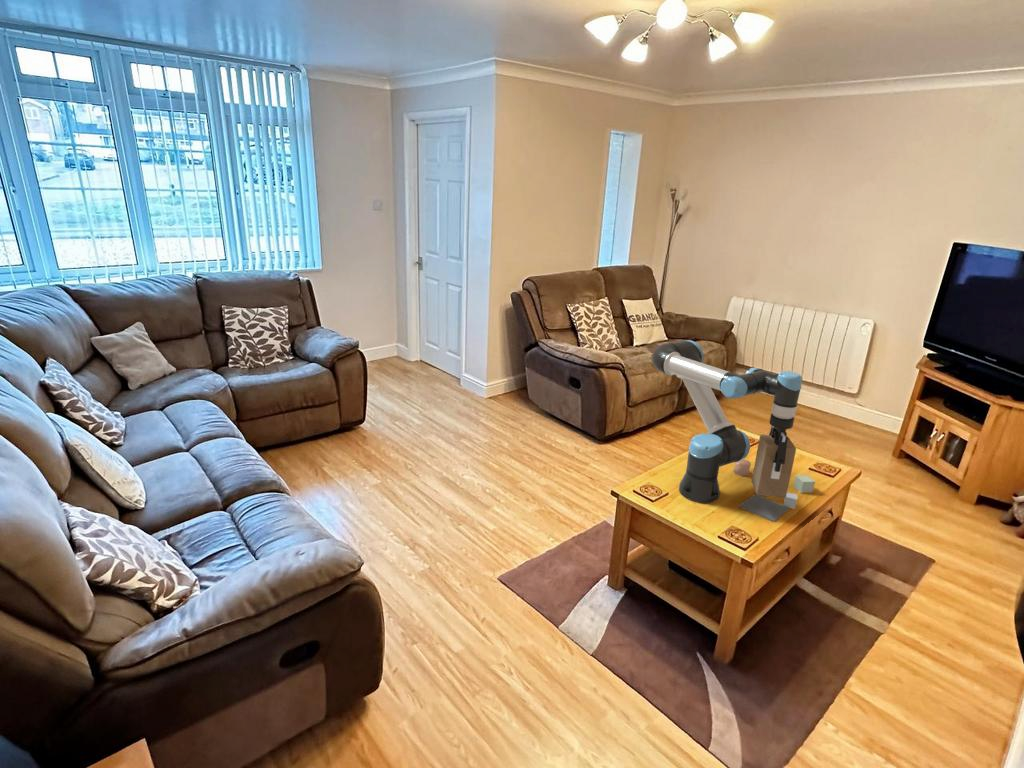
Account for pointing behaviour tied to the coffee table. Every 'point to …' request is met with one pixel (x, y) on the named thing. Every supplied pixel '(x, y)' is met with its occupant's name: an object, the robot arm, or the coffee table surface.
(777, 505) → the slate mat
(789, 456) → the wooden block
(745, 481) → the coffee table surface
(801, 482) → the sage cube
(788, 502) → the pale blue cube
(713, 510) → the coffee table surface
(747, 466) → the pale pink rounded piece
